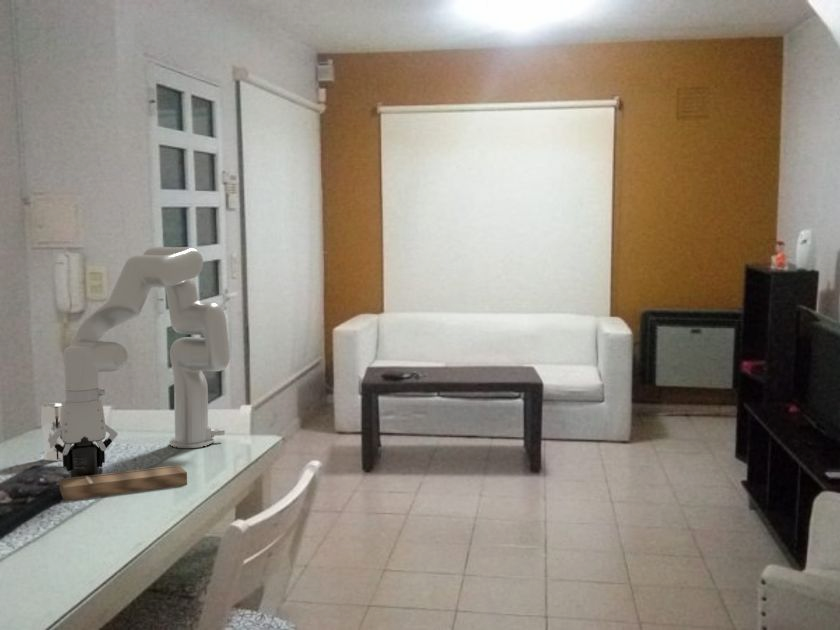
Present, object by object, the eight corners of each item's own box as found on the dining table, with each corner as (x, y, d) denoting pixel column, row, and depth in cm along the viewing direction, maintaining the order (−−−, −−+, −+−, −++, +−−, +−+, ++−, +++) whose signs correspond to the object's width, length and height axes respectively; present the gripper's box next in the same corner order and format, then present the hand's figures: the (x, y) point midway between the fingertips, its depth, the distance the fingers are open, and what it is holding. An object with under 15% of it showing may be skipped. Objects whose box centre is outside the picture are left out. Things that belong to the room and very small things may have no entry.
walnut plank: (179, 476, 214) (178, 464, 214) (187, 484, 208) (186, 471, 207) (59, 491, 201) (59, 478, 200) (64, 500, 194) (63, 487, 194)
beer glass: (74, 456, 235) (73, 402, 234) (61, 462, 228) (60, 407, 227) (51, 455, 235) (49, 401, 234) (37, 461, 229) (35, 406, 227)
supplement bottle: (105, 480, 209) (104, 432, 208) (84, 487, 203) (82, 438, 202) (85, 477, 212) (83, 430, 211) (63, 484, 206) (61, 435, 205)
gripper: (116, 390, 213) (118, 460, 215) (41, 396, 205) (44, 468, 206) (122, 395, 207) (123, 467, 208) (44, 401, 198) (47, 476, 200)
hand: (84, 467), depth 207 cm, fingers closed on supplement bottle, 6 cm apart
